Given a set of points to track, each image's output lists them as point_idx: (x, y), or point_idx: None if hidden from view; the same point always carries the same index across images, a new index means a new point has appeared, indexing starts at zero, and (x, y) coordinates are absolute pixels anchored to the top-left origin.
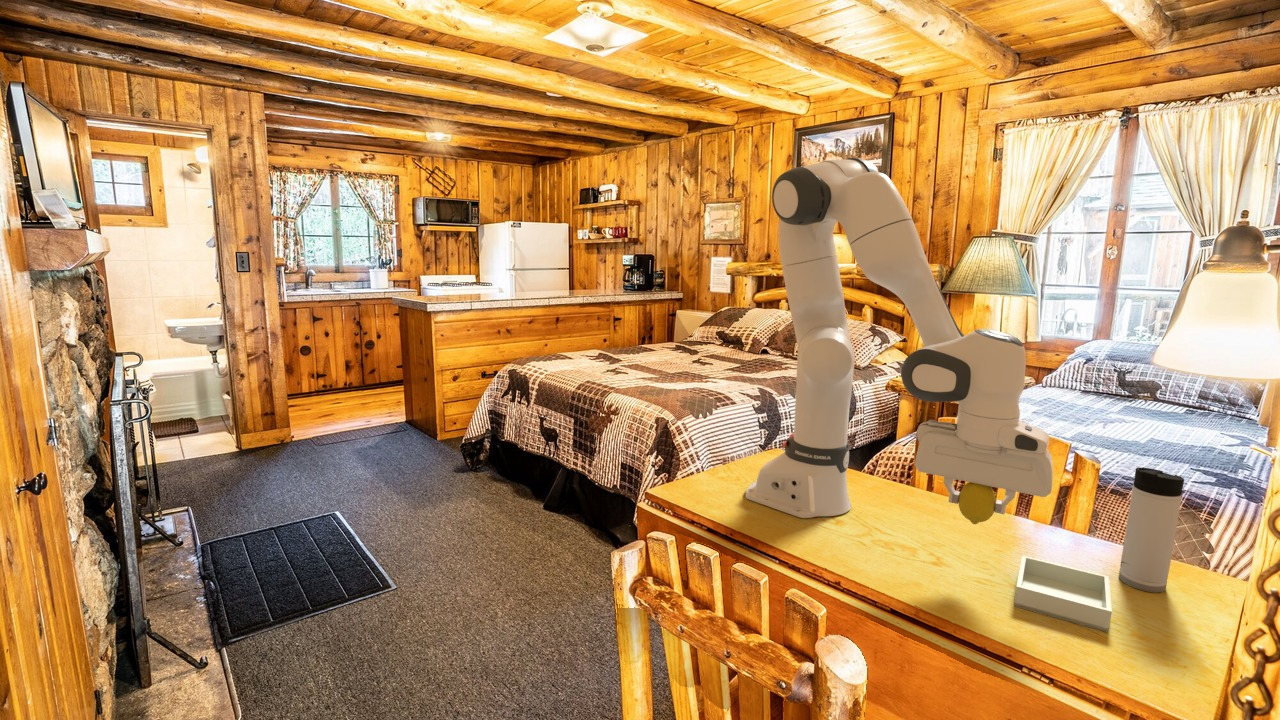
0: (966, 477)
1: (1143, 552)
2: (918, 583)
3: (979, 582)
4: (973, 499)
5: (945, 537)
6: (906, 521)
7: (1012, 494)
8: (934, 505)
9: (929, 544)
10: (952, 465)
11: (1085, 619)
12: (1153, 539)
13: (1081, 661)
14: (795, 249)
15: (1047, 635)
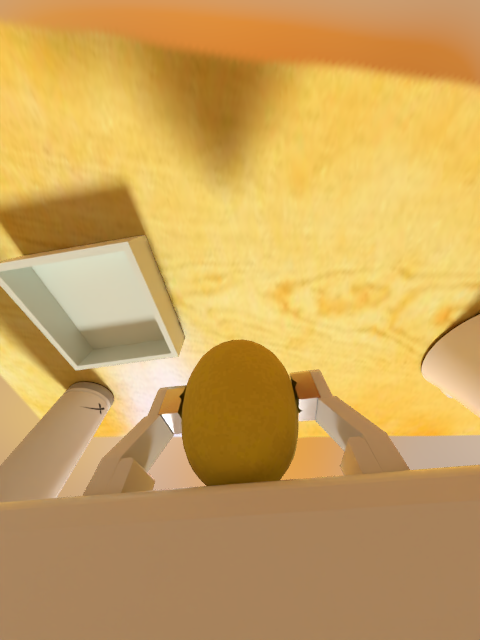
0: (304, 513)
1: (47, 427)
2: (296, 190)
3: (214, 276)
4: (239, 389)
5: (289, 366)
6: (341, 374)
7: (102, 472)
8: (314, 420)
9: (304, 337)
10: (468, 635)
11: (42, 253)
12: (17, 453)
13: None
14: None
15: (55, 162)
